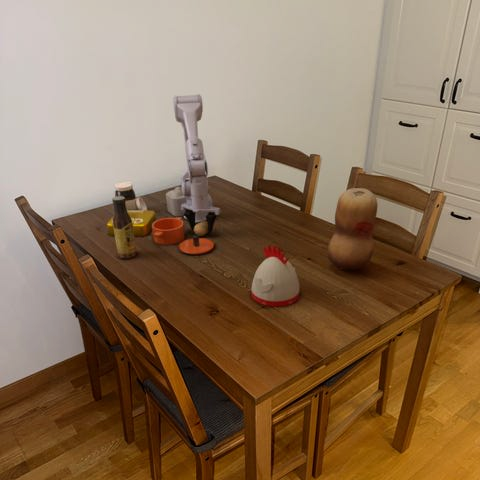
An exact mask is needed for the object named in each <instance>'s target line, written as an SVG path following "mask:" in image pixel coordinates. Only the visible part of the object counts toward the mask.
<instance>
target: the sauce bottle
mask: <svg viewBox="0 0 480 480" xmlns="http://www.w3.org/2000/svg"><path fill="white" fill-rule="evenodd" d="M111 200H112V204H113V208H114V214H113V216H112V217H113V228H114V234H115V236H114V238H115V245H116V252H117V254H118V257H119V258H120V259H131V258H134V257H135V256H136V255H137V245H136V244H137V243H136V239H135V237H136V236H134V231H133V223H132V220H131V218H130V216H129V214H128V212H127V209H126V204H125V202H126V200H125V197H123V196H117V197H115V196H113V197H112V198H111Z"/></svg>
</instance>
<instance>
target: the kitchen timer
mask: <svg viewBox="0 0 480 480" xmlns="http://www.w3.org/2000/svg"><path fill="white" fill-rule="evenodd" d="M276 247H277V246H276V245H273V246H272V247H271V244H270V243H269V244H268V245H267V246H263V248H262V250H263V253H264V255H265V259H264V260H263V261H262V262H260V264H259V265H258V267H257V269H256V271H255V274H254V277H253V279H252V283H251V290H250V291H251V298H252V299H253V300H255V301H256V302H257V303H259V304H261V305H264V306H268V307H284V306H289V305H291V304H294V303H295V302H296V301H297V300H298V299H299V298H300V282H299V279H298V275H297V272H296V267H293V265H292V264H291V262H290V261H289V259H290V257H287V258H285V254H286V252H285V251H283V252H281V247H280V246H278V247H277V248H276Z"/></svg>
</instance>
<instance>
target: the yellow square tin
mask: <svg viewBox="0 0 480 480" xmlns="http://www.w3.org/2000/svg"><path fill="white" fill-rule="evenodd" d="M127 212H128V214H129V216H130V218H131V220H132V223H133V231H134V237H145V236H147V235H149V234H150V232H151V231H152V224H153V223H154V222H155V221H157V219H156V213H155V210H148V209H147V210H139V209H138V210H127ZM106 225H107V229H108V230H107V231H108V234H109V235H110V236H114V237H115V234H114V228H113V216H112V217H111V218H110V219H109V220H108V222H107V223H106Z"/></svg>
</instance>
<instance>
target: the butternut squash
mask: <svg viewBox="0 0 480 480" xmlns="http://www.w3.org/2000/svg"><path fill="white" fill-rule="evenodd" d="M377 199H378V198H377V196H376V195H375V193H373V192H372V191H370V190H369V189H367V188H364V187H362V188H361V187H360V188H359V187H352V188H350V189H347V190H345V191H343V192H342V193H341V195H340V196H339V197H338V200H337V203H336V204H337V205H336V208H335V214H334V233H333V235H332V236H331V239H330V241H329V243H328V246H327V258H328V261H329V262H330V263H331V264H332V265H333V267H335V268H338V269H342V270H344V271H347V272H352V271H353V272H354V271H357V270H358V269H359V270H360V269H361V268H364V267H365V266H367V265H368V264H369V263H370V261H371V260H372V258H373V255H374V249H375V248H374V247H375V246H374V245H375V244H374V238H373V230H374V228H375V226H376V225H377V224H376V221H377V220H376V218H377V213H378V200H377Z"/></svg>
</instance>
